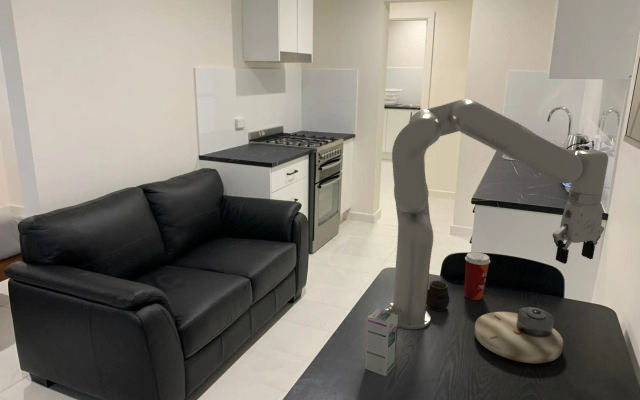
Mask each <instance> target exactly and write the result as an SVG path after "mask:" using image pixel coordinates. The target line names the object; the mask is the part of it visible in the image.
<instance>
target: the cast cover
mask: <svg viewBox="0 0 640 400" xmlns="http://www.w3.org/2000/svg"><path fill="white" fill-rule="evenodd" d="M517 313H518V316H517V322H516V326H517V328H518V329H519V330H520V331H521V332H523V333H525V334H527V335H530V336H534V337H548V336H550V335H551V334H552V329H553V328H554V323H555V317H554V316H553V314H551V313H550V312H548V311H546V310H545V309H542V308H539V307H533V306H532V307H531V306H527V307H526V306H525V307H524V306H523V307H521V308H519V309H518V311H517Z"/></svg>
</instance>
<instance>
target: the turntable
mask: <svg viewBox="0 0 640 400" xmlns="http://www.w3.org/2000/svg"><path fill="white" fill-rule="evenodd" d="M517 316H518V312H517V313H516V312H510V311H494V312H489V313H488V312H487V313H485V314H482V315H480V316H479V317H478V318H477V319H476V321H475V323H474V324H475V325H474V336H475V338H476V340H477V341H478V342H479V344H481V345H482V346H483V347H484V348H486V349H487V350H488V351H490V352H492V353H493V354H496V355H497V356H500V357H502V358H504V359H505V358H506V359H507V360H511V361H514V362H515V361H516V362H520V363H525V364H526V363H527V364H544V363H545V364H546V363H549V362H552V361H555V360H556V359H558V358H559V357H560V356H561V354H562V351H563V347H564V339H563V337H562V336H561V334H560V332H558V330H556V329H555V328H554V327H553V329H552V334H551V335H550V336H548V337H534V336H530V335H527V334H525V333H523V332H521V331H520V330H519V329H518V328H517V326H516V322H517Z"/></svg>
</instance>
